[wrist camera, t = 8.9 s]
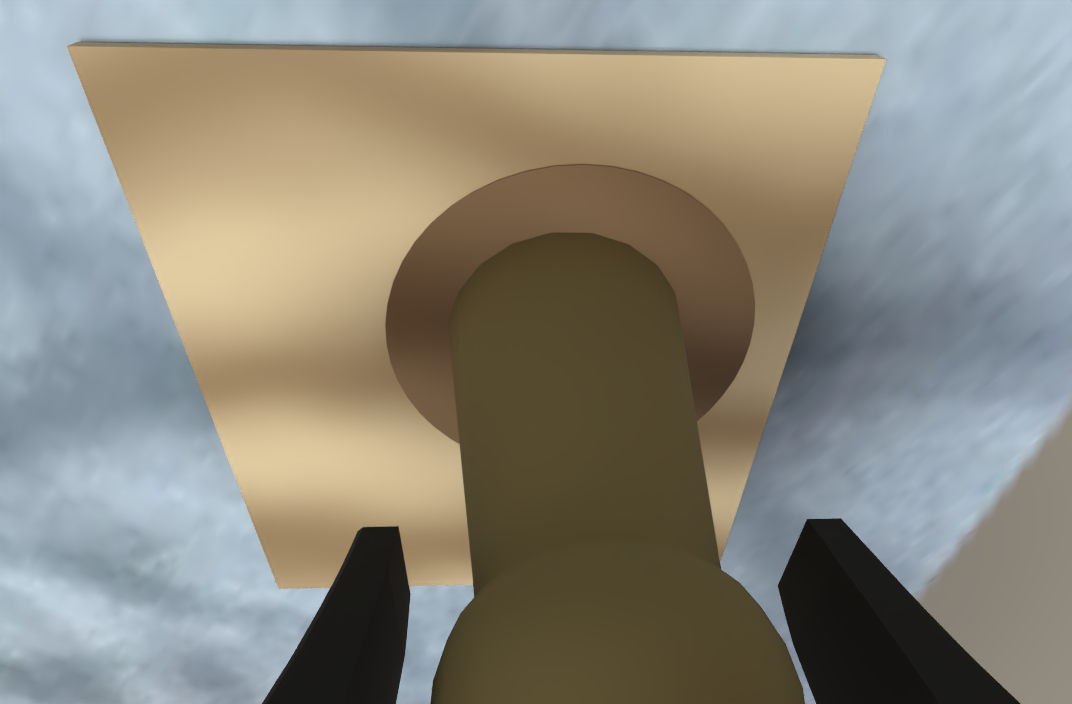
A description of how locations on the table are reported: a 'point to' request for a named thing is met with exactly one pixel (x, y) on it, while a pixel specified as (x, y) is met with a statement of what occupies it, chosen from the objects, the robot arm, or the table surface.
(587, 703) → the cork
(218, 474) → the table surface
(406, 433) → the mat
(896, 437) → the table surface
